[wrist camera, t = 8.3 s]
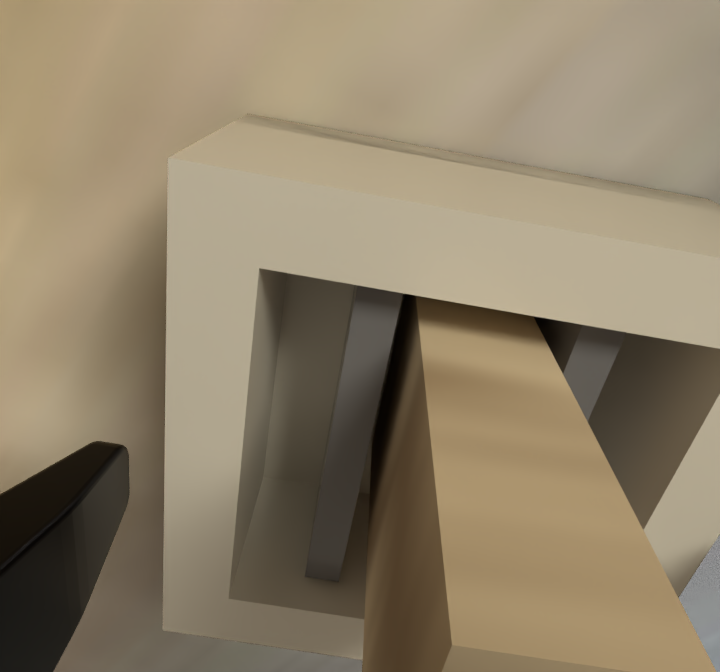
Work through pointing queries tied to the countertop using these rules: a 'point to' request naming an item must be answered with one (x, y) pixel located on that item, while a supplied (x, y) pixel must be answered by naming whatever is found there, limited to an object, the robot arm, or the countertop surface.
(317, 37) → the countertop surface
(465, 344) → the tan wooden block
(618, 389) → the white open frame
